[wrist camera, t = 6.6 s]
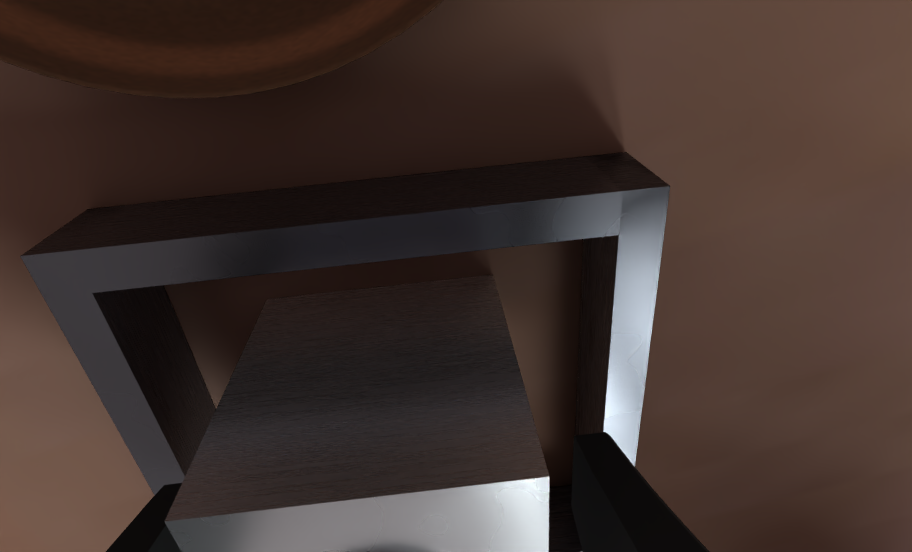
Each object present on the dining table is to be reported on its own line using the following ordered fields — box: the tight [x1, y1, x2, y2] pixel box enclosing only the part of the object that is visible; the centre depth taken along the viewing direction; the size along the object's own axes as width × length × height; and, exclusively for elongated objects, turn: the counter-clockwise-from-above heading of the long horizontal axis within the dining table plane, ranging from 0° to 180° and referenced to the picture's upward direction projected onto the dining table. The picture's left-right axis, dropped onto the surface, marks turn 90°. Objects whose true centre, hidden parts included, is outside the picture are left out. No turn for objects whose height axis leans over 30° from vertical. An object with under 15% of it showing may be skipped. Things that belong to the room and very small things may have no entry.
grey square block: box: [164, 275, 549, 552], centre depth 10 cm, size 5×5×6 cm
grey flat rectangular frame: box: [20, 152, 670, 552], centre depth 14 cm, size 20×11×2 cm, turn 5°
